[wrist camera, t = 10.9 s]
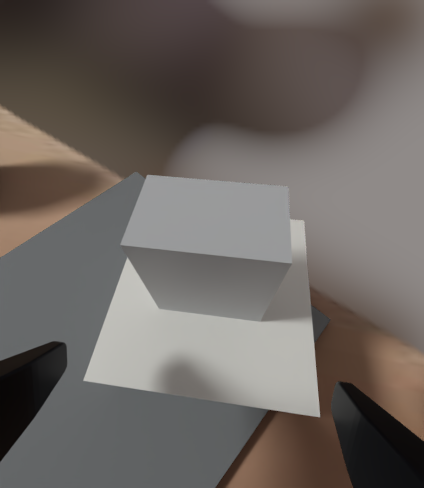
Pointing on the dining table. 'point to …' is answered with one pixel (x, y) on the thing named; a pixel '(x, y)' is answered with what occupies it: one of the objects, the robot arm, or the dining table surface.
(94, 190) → the dining table surface
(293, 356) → the cover
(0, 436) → the robot arm
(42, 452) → the mat
